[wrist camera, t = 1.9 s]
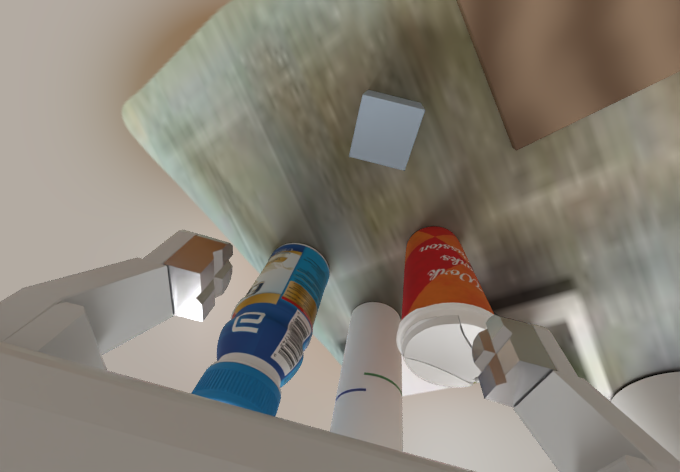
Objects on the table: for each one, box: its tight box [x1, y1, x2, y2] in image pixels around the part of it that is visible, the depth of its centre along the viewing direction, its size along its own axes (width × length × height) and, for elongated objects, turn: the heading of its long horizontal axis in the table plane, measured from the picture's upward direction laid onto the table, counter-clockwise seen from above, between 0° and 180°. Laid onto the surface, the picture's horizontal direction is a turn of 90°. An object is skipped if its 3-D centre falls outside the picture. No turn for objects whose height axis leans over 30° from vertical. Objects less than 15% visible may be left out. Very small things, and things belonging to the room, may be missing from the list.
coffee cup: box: [396, 226, 494, 387], centre depth 28 cm, size 8×8×15 cm
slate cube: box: [349, 90, 425, 171], centre depth 26 cm, size 5×5×5 cm
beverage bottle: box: [191, 243, 329, 417], centre depth 30 cm, size 8×8×20 cm
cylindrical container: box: [330, 302, 403, 452], centre depth 31 cm, size 7×7×25 cm
